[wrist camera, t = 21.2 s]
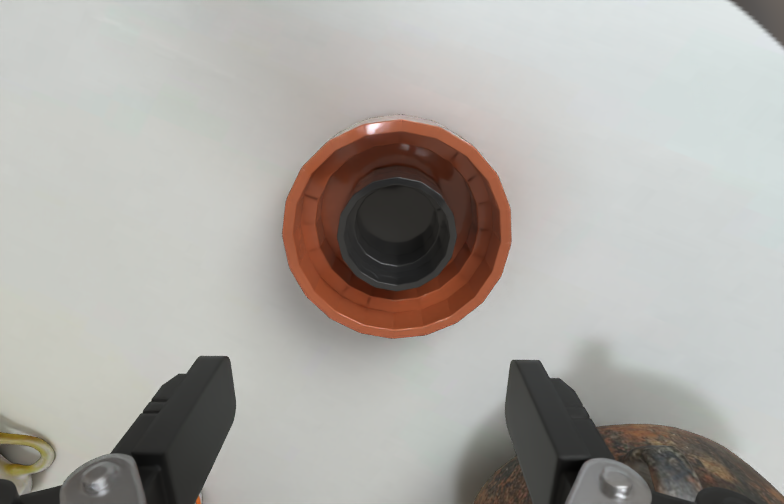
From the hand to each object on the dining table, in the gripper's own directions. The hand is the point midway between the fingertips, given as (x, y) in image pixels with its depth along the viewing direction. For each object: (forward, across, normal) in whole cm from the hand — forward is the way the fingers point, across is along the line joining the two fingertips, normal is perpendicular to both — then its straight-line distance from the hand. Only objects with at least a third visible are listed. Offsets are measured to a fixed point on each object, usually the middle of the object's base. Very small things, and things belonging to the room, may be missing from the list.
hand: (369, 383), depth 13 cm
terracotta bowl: (+17, -1, 0) cm, 17 cm away
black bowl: (+16, -1, 0) cm, 16 cm away
